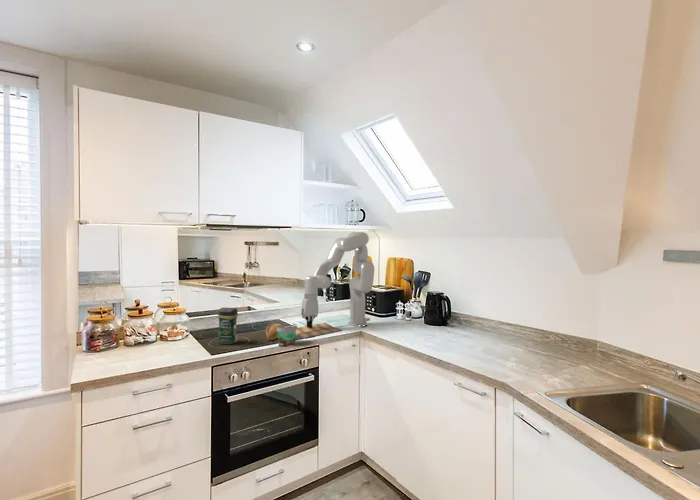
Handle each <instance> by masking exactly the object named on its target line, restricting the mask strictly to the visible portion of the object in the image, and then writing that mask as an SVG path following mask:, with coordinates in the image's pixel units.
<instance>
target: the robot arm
mask: <svg viewBox="0 0 700 500" xmlns="http://www.w3.org/2000/svg"><path fill="white" fill-rule="evenodd" d="M369 239H370V238H369V234H368V233H366V232H364V231H353V232H350V233H349V234H348V235H347V237H338V238H336V239H335V240H334V242H333V244H332V246H331V248H330V251H329V253H328V254H327V257H326V258H325V260H323V261H322V262H321V264H320V265H319V266H318V268H317V269H316V271H315V273H314V275H306V276H305V278H304V295H303V296H304V297H303V298H302V300H301V301H302V302H301V305H300V306H301V307H300V315H301V319H304V320H305V321H306V326H307V327H308V328H312V325H313V321H314V319H316V318H318V316H319V300H318V297H319V294H318V289H329V287H331V285H332V280H331V278H330V277H328V276H327V275H328V273H329V272H330V271H331V270H332V269H335V268H336V267H337V266H338V265H339V264H340V263H341V261H342V258H343V257H344V255H345V253H346V252H351V251H354V256H353V257H354V258H353V265H352V266H353V267H352V269H353V272H354V273H355V274H357V275H356V276H353V277H351V278H350V280H349V283H348V285H349V292H350V295H349V296H350V308H349V309H350V310H349V313H350V314H349V315H350V316H349V317H350V318H349V321H348V322H347V325H348V326H350V325H351V326H352V327H358V326H359V325H360V326H363V325H366V324H367V325H368V323H367V322H369V321H371V318H370V317H366V294H369V293H370V292H371V291H372V289H373V286H374V279H375V265H374V263H373V261H371V260H368V254H369V250H368V247H367V244H368V243H369ZM358 275H360V276H358ZM351 326H350V327H351Z"/></svg>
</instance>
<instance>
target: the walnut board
mask: <svg viewBox="0 0 700 500" xmlns="http://www.w3.org/2000/svg"><path fill="white" fill-rule="evenodd" d="M342 331H343V329H341V328H338V327H334V326H333V327H332V328H327V329H322V330H317V331H312V332H306V333H301V334H298V335H297V336H299V337H301V338H303V339H309V338H314V337H320V336H323V335H329V334H334V333H338V332H342Z"/></svg>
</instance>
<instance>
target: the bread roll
mask: <svg viewBox="0 0 700 500" xmlns="http://www.w3.org/2000/svg"><path fill="white" fill-rule="evenodd" d="M277 327H280V328H283V327H285V326H284V325H283V324H281V323H277V322H272V323H270V324H268V325H267V326H266V328H265V336H266V339H267V340H269V341H273V340H278V331H277Z"/></svg>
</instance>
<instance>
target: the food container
mask: <svg viewBox="0 0 700 500" xmlns="http://www.w3.org/2000/svg"><path fill="white" fill-rule="evenodd" d="M292 323H293V324H292V325H285V326H284V327H283V328H280V327H277V331H278V338H277V343H278V347H282V348H288V347H289V346H291V345H293V344H296V336H297V335H296V330H297V328H298V325H297V324H296V323H294V322H292Z"/></svg>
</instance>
